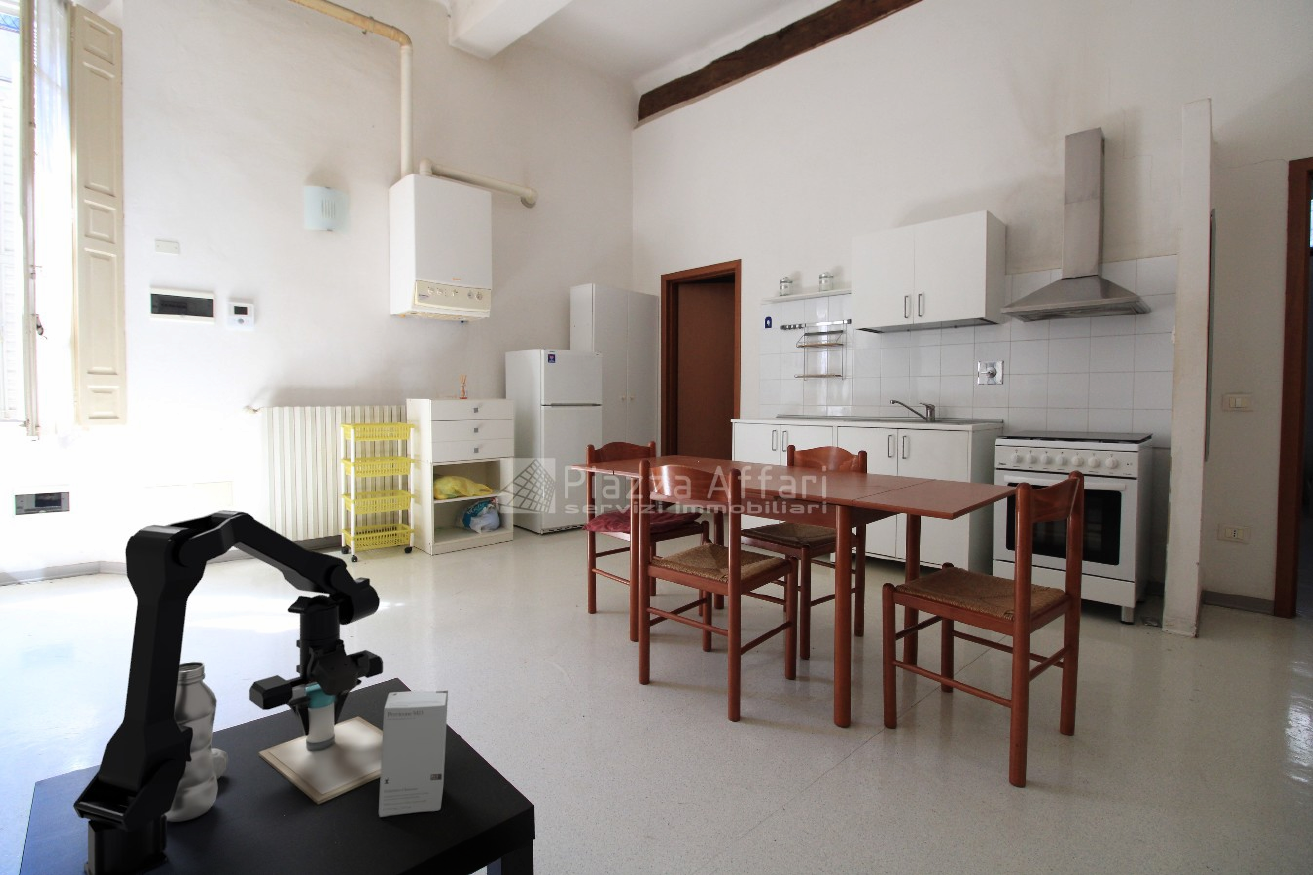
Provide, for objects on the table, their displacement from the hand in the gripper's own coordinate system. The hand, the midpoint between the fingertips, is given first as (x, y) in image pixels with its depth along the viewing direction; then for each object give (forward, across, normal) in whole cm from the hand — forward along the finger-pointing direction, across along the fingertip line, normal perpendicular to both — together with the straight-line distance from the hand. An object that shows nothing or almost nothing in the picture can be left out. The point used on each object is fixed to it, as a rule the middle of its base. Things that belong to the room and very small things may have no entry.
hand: (319, 729), depth 104 cm
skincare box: (+3, +2, -24) cm, 25 cm away
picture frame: (+3, +1, -5) cm, 6 cm away
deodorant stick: (+2, 0, 0) cm, 2 cm away
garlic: (+3, -15, +3) cm, 16 cm away
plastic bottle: (+3, -19, -4) cm, 20 cm away
